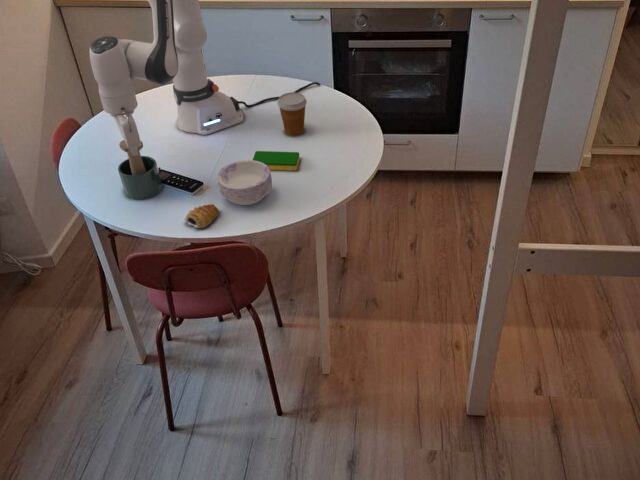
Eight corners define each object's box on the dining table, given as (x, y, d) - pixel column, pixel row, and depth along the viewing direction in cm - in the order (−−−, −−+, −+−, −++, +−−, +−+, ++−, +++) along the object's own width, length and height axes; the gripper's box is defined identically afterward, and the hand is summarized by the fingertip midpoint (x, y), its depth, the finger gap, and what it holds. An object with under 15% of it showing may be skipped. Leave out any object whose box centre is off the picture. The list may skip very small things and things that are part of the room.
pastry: (207, 206, 175) (205, 195, 172) (225, 214, 172) (223, 203, 170) (183, 223, 169) (181, 212, 167) (201, 232, 166) (198, 221, 164)
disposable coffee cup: (275, 135, 204) (271, 102, 196) (288, 122, 211) (285, 89, 203) (301, 140, 202) (298, 107, 194) (313, 127, 208) (311, 94, 200)
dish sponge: (296, 171, 188) (296, 164, 187) (252, 169, 189) (251, 162, 188) (299, 158, 194) (299, 151, 192) (256, 157, 194) (255, 150, 193)
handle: (148, 193, 179) (136, 149, 169) (129, 190, 181) (116, 146, 171) (157, 184, 183) (145, 140, 173) (138, 181, 184) (125, 137, 174)
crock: (157, 175, 187) (151, 152, 182) (166, 193, 180) (160, 170, 175) (121, 184, 184) (114, 161, 178) (129, 203, 177) (122, 180, 171)
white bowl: (228, 180, 185) (224, 157, 180) (277, 182, 184) (275, 159, 178) (214, 210, 174) (210, 187, 168) (267, 213, 172) (264, 189, 167)
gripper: (140, 115, 157) (151, 161, 166) (123, 83, 171) (134, 128, 180) (114, 120, 155) (127, 167, 164) (100, 88, 169) (112, 133, 178)
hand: (131, 146), depth 172 cm, fingers open, 8 cm apart
